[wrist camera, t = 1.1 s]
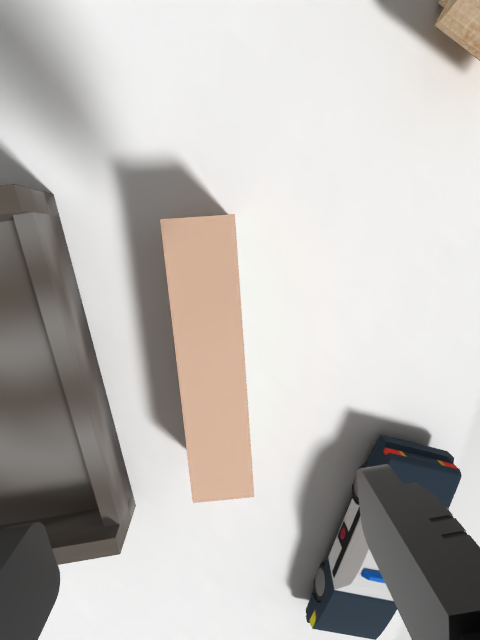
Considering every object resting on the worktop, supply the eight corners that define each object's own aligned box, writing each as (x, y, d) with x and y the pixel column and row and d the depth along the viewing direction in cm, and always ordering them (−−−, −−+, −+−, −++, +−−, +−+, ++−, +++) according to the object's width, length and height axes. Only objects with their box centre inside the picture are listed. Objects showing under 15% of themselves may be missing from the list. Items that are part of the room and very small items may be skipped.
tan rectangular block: (172, 222, 21) (160, 219, 17) (231, 218, 21) (234, 214, 17) (197, 456, 25) (192, 502, 21) (248, 451, 25) (254, 496, 21)
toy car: (301, 599, 29) (318, 674, 24) (372, 425, 25) (408, 469, 20) (359, 610, 29) (387, 684, 24) (436, 440, 26) (485, 488, 21)
